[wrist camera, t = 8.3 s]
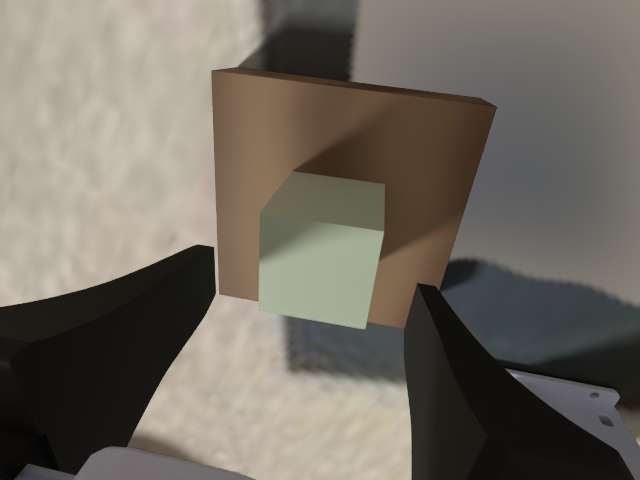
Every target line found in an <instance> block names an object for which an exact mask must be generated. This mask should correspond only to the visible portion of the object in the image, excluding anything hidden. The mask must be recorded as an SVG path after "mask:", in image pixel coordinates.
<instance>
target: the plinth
mask: <svg viewBox="0 0 640 480" xmlns="http://www.w3.org/2000/svg"><path fill="white" fill-rule="evenodd" d="M211 73H212V101H213V129H214V157H215V185H216V213H217V241H218V269H219V294H221V295H226V296H232V297H237V298H242V299H248V300H253V301H258V302H259V230H260V212H261V210H262V209H263V208H264V207H265V205H266V204H267V203H268V201H269V200H270V199H271V197H272V196H273V195H274V194H275V192H276V191H277V190H278V188H279V187H280V186H281V185H282V183H283V182H284V181H285V179H286V178H287V177H288V175H289V174H290V173H291V172H292V171H294V172H301V173H308V174H316V175H323V176H330V177H337V178H345V179H352V180H359V181H366V182H373V183H381V184H385V214H384V235H383V240H382V246H381V251H380V256H379V261H378V266H377V271H376V277H375V282H374V287H373V292H372V297H371V302H370V307H369V313H368V318H367V322H371V323H376V324H382V325H387V326H393V327H398V328H403V329H405V325H406V321H407V318H408V314H409V310H410V307H411V303H412V300H413V296H414V292H415V289H416V285H417V283H421V284H427V285H433V286H436V287H437V289H438V290H439V289H440V286H441V283H442V280H443V277H444V273H445V270H446V267H447V264H448V261H449V258H450V254H451V251H452V248H453V245H454V241H455V238H456V235H457V232H458V229H459V226H460V223H461V220H462V216H463V213H464V210H465V207H466V204H467V200H468V197H469V194H470V191H471V187H472V184H473V181H474V178H475V175H476V172H477V168H478V166H479V162H480V159H481V156H482V153H483V150H484V147H485V143H486V140H487V137H488V134H489V130H490V127H491V124H492V121H493V117H494V115H495V112H496V108H497V107H496V106H494V105H492V104H491V103H489V102H487V101H485V100H483V99H481V98H476V97H468V96H460V95H452V94H444V93H436V92H428V91H420V90H412V89H405V88H396V87H389V86H380V85H372V84H365V83H357V82H349V81H341V80H333V79H325V78H317V77H309V76H301V75H293V74H285V73H277V72H269V71H261V70H253V69H245V68H237V67H235V68H228V69H220V70H212V71H211Z"/></svg>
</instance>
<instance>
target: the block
mask: <svg viewBox="0 0 640 480" xmlns="http://www.w3.org/2000/svg"><path fill="white" fill-rule="evenodd" d="M384 214H385V184H381V183H373V182H366V181H359V180H352V179H345V178H337V177H330V176H323V175H316V174H308V173H301V172H294V171H292V172H291V173H290V174H289V175H288V177H287V178H286V179H285V181H284V182H283V183H282V185H281V186H280V187H279V188H278V190H277V191H276V192H275V194H274V195H273V196H272V197H271V199H270V200H269V201H268V203H267V204H266V205H265V207H264V208H263V209H262V210H261V212H260V230H259V311H264V312H270V313H276V314H281V315H287V316H292V317H298V318H304V319H309V320H315V321H320V322H326V323H332V324H337V325H343V326H348V327H354V328H360V329H365V328H366V323H367V318H368V313H369V307H370V302H371V297H372V292H373V287H374V282H375V277H376V271H377V266H378V261H379V256H380V251H381V246H382V240H383V235H384Z"/></svg>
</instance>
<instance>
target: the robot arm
mask: <svg viewBox="0 0 640 480" xmlns="http://www.w3.org/2000/svg"><path fill="white" fill-rule="evenodd" d="M215 294H216V285H215V260H214V247H210V246H204V245H195V246H192V247H190V248H187V249H185V250H183V251H180V252H178V253H176V254H174V255H172V256H169V257H167V258H165V259H163V260H161V261H158V262H156V263H154V264H152V265H150V266H147V267H145V268H142V269H140V270H137V271H135V272H133V273H130V274H128V275H125V276H123V277H120V278H117V279H115V280H112V281H109V282H106V283H103V284H100V285H97V286H94V287H90V288H87V289H84V290H80V291H76V292H72V293H68V294H64V295H60V296H56V297H52V298H48V299H43V300H38V301H33V302H28V303H22V304H17V305H11V306H5V307H0V480H255V479H253V478H250V477H248V476H245V475H243V474H240V473H237V472H233V471H229V470H224V469H220V468H216V467H212V466H207V465H203V464H199V463H195V462H190V461H186V460H182V459H178V458H173V457H169V456H165V455H161V454H156V453H152V452H148V451H143V450H139V449H135V448H129V447H127V445H128V443H129V441H130V439H131V437H132V435H133V433H134V431H135V429H136V427H137V425H138V423H139V421H140V419H141V417H142V415H143V413H144V411H145V409H146V408H147V406H148V404H149V402H150V400H151V398H152V396H153V394H154V393H155V391H156V389H157V387H158V385H159V384H160V382H161V380H162V378H163V376H164V375H165V373H166V372H167V370H168V369H169V367H170V365H171V364H172V363H173V361H174V360H175V358H176V357H177V355H178V354H179V353H180V351H181V350H182V348H183V347H184V345H185V344H186V343H187V341H188V340H189V338H190V337H191V335H192V334H193V333H194V331H195V330H196V328H197V327H198V325H199V324H200V322H201V321H202V319H203V318H204V316H205V314H206V313H207V311H208V309H209V307H210V305H211V303H212V301H213V299H214V296H215ZM404 362H405V371H406V380H407V389H408V398H409V407H410V415H411V432H412V480H640V446H639V444H638V443H637V441H636V440H635V438H634V436H633V435H632V433H631V432H630V430H629V429H628V427H627V425H626V424H625V422H624V421H623V419H622V417H621V416H620V414H619V413H618V411H617V410H616V408H615V404H616V403H617V402H618V400H619V398H620V397H619V394H618V393H617V391H615V390H614V389H610V388H605V387H599V386H594V385H589V384H584V383H578V382H573V381H568V380H563V379H558V378H552V377H547V376H542V375H537V374H531V373H526V372H521V371H516V370H511V369H505V368H504V367H503V366H502V365H501V364H500V363H498V362H497V361H496V360H495V359H494V358H493V357H492V356H491V355H490V354H489V353H488V352H487V351H486V350H485V348H484V347H483V346H482V345H481V344H480V343H479V342H478V341H477V340H476V338H475V337H474V336H473V335H472V334H471V333H470V331H469V330H468V329H467V328H466V327H465V325H464V324H463V323H462V322H461V320H460V319H459V318H458V316H457V315H456V314H455V312H454V311H453V310H452V308H451V307H450V306H449V304H448V303H447V301H446V300H445V299H444V297H443V296H442V294H441V293H440V292H439V290H438V289H437V287H436V286H433V285H427V284H421V283H417V285H416V289H415V292H414V296H413V300H412V303H411V307H410V310H409V314H408V318H407V321H406V325H405V329H404Z"/></svg>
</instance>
